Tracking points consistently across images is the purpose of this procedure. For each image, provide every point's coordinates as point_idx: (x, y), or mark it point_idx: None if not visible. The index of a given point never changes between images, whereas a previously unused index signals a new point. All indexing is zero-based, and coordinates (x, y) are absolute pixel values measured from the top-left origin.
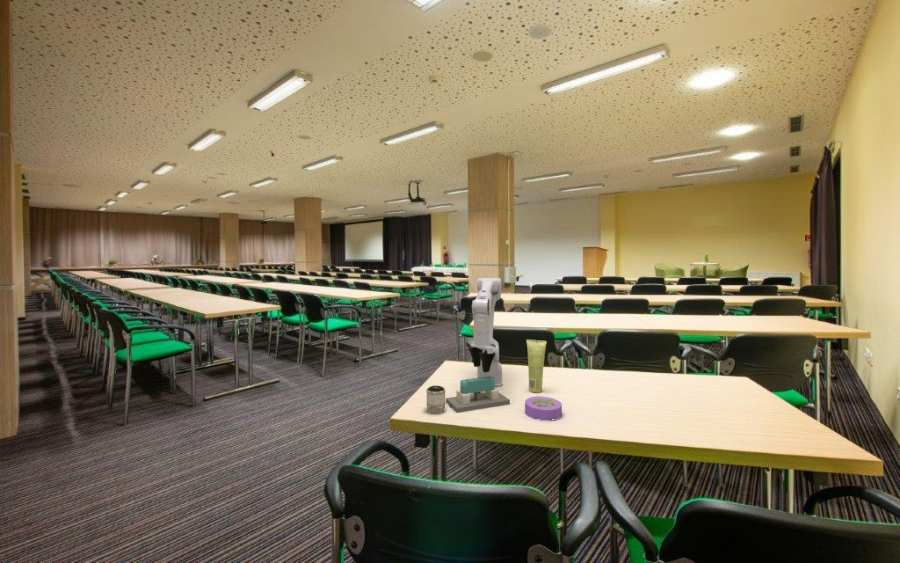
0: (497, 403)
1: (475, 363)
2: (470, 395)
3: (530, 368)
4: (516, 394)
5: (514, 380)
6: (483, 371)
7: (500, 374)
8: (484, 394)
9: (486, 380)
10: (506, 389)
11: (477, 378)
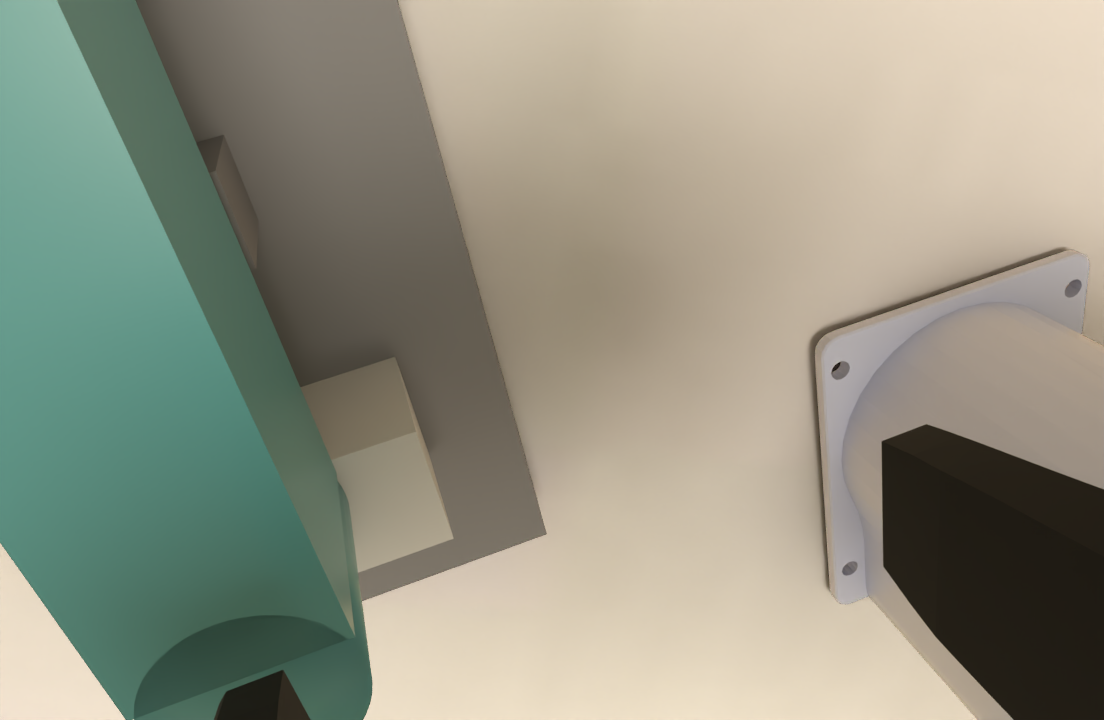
0: None
1: (962, 525)
2: (370, 90)
3: None
4: (501, 714)
5: (935, 704)
6: (252, 692)
7: (947, 672)
8: (398, 353)
9: (65, 602)
10: (693, 622)
11: (176, 392)
